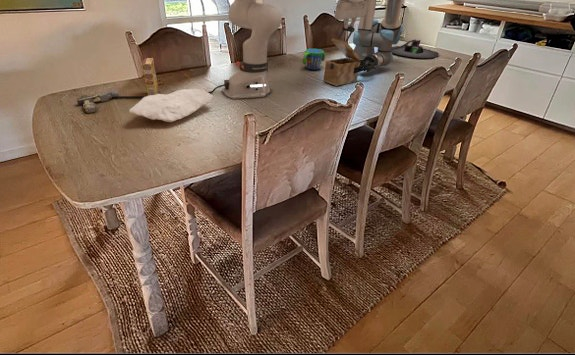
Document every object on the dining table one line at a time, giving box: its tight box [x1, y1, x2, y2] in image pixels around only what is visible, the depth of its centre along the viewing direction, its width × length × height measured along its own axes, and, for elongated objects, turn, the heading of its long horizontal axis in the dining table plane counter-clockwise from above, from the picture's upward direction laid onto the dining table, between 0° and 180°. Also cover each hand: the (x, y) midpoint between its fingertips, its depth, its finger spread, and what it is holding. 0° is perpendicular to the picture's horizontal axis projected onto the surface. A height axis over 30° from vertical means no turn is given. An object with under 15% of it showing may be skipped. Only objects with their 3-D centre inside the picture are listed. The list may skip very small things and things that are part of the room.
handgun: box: [76, 89, 120, 114], centre depth 155 cm, size 3×18×15 cm
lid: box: [331, 25, 361, 61], centre depth 185 cm, size 17×9×10 cm
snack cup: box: [302, 48, 326, 71], centre depth 209 cm, size 16×10×10 cm
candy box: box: [141, 57, 160, 96], centre depth 163 cm, size 9×4×15 cm, turn 13°
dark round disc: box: [391, 38, 439, 59], centre depth 252 cm, size 35×35×9 cm
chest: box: [322, 57, 360, 87], centre depth 190 cm, size 17×9×10 cm, turn 132°
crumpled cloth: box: [129, 88, 214, 123], centre depth 147 cm, size 24×35×9 cm
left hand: (349, 27), depth 180 cm, fingers closed
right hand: (347, 68), depth 192 cm, fingers closed on chest, 9 cm apart
